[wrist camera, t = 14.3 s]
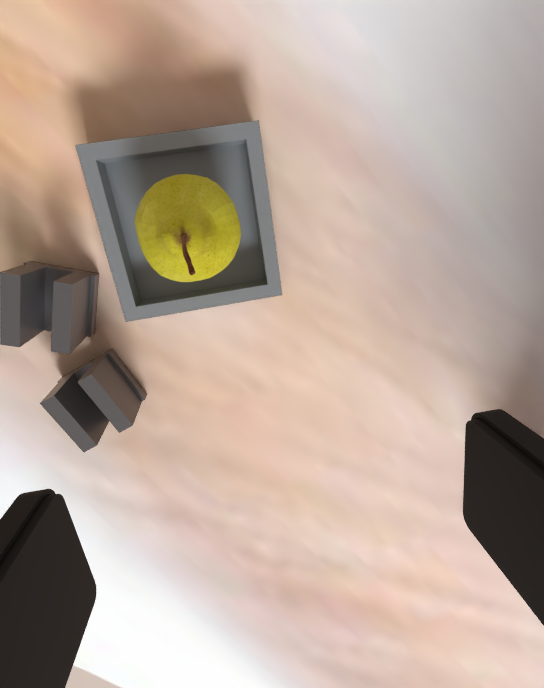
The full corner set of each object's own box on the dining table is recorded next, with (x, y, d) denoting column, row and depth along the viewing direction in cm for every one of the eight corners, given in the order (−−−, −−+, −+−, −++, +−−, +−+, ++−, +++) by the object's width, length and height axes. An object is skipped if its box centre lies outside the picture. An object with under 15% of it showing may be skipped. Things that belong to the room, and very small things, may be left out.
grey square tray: (254, 129, 29) (258, 120, 26) (276, 287, 33) (282, 294, 30) (89, 151, 28) (75, 145, 25) (133, 311, 32) (125, 322, 29)
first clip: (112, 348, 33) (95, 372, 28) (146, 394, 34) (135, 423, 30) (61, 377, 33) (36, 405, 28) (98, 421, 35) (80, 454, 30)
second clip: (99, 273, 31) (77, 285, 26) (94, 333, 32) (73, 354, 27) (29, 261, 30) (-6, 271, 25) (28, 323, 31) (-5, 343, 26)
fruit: (134, 187, 28) (80, 173, 17) (226, 170, 29) (233, 145, 17) (160, 280, 31) (128, 322, 19) (245, 263, 31) (262, 294, 20)
